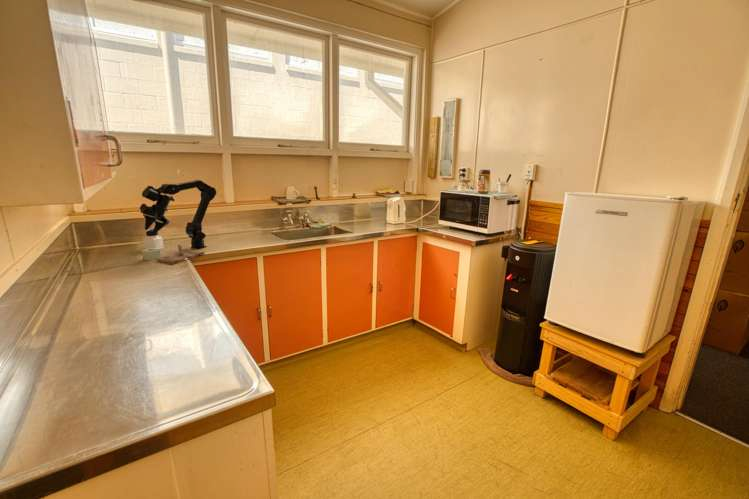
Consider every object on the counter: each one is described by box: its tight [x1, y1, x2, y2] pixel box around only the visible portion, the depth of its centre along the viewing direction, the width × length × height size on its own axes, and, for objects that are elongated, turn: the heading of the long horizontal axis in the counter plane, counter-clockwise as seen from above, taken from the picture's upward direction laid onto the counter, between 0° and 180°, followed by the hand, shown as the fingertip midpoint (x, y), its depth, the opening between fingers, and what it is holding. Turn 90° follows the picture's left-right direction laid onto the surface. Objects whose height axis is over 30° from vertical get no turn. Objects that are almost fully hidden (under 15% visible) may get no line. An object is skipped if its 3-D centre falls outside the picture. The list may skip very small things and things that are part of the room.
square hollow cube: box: [140, 248, 162, 262], centre depth 190 cm, size 6×6×5 cm
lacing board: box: [156, 243, 205, 265], centre depth 192 cm, size 20×12×8 cm, turn 157°
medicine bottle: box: [142, 228, 165, 250], centre depth 206 cm, size 7×7×12 cm
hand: (150, 231), depth 186 cm, fingers open, 9 cm apart
